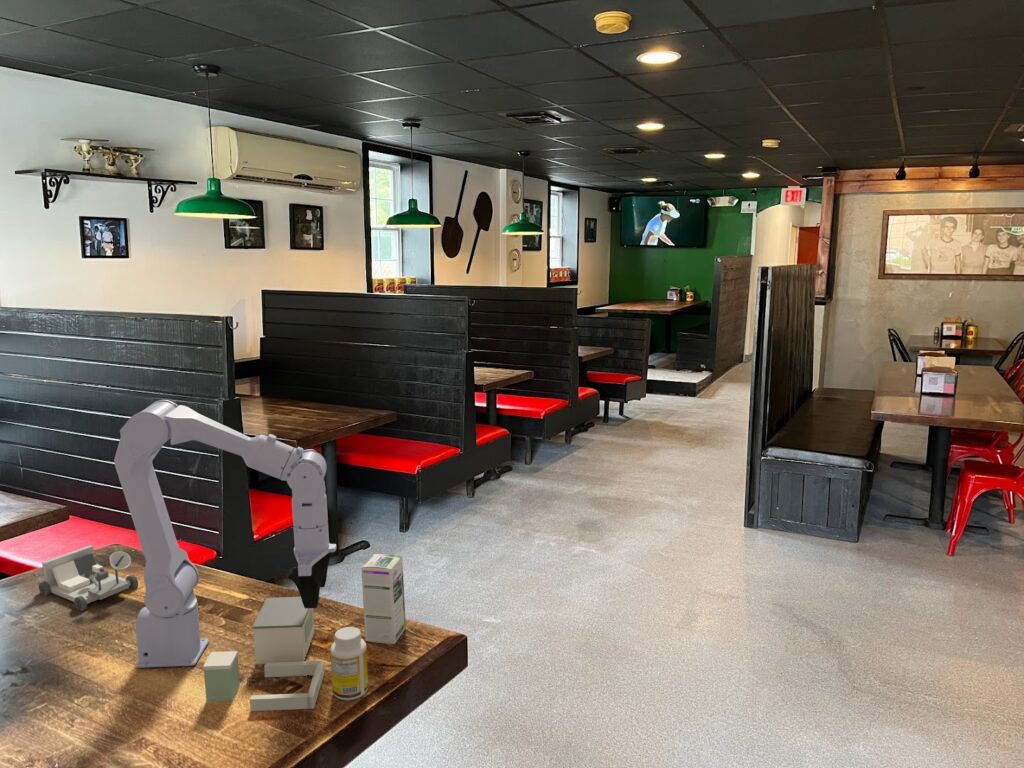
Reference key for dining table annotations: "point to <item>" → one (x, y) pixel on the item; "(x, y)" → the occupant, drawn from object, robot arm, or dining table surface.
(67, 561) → the toy car
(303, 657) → the box
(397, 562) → the syrup box
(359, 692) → the supplement bottle
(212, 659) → the block
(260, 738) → the dining table surface
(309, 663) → the dock
